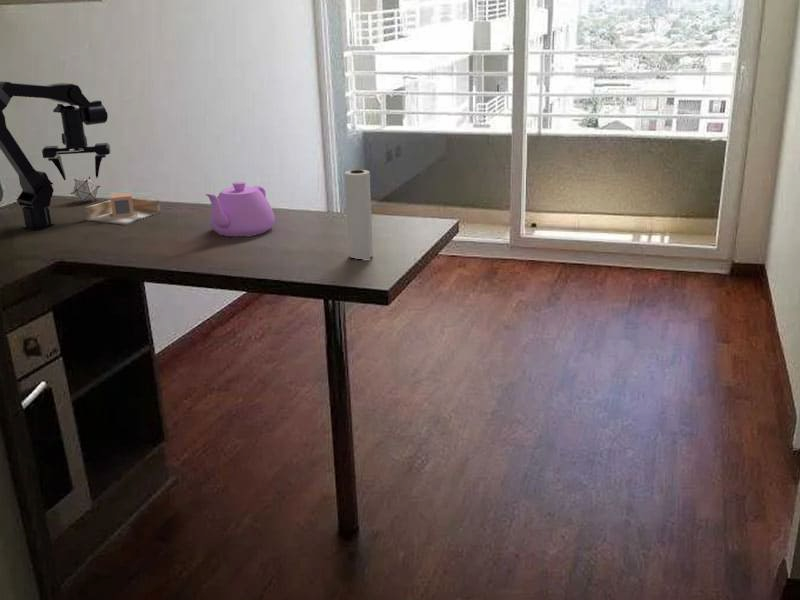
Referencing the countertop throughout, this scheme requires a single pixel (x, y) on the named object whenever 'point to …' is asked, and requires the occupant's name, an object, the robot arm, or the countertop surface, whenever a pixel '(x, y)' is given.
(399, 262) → the countertop surface
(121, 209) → the cube
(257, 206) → the teapot
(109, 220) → the tray
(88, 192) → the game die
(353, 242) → the paper towel roll
